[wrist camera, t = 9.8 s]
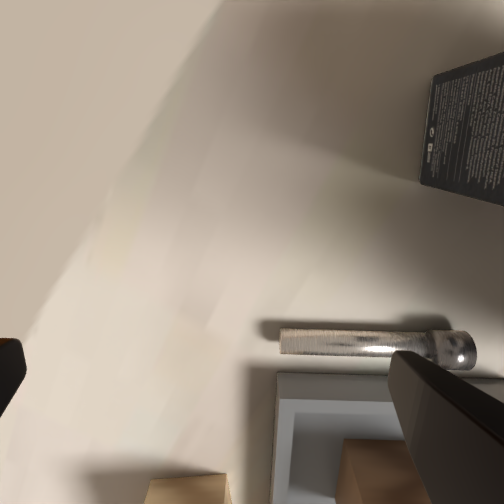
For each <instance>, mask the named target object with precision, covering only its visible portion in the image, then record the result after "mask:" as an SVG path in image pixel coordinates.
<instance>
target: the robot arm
mask: <svg viewBox="0 0 504 504" xmlns="http://www.w3.org/2000/svg"><path fill="white" fill-rule="evenodd" d="M26 371H27V366H26V362H25V357H24V352H23V348H22V344H21V342H20V340H18V339H15V338H0V417H1V416H2V414H3V412H4V411H5V409H6V408H7V406H8V404H9V403H10V401H11V399H12V398H13V396H14V394H15V393H16V391H17V389H18V388H19V386H20V384H21V383H22V381H23V380H24V378H25V375H26ZM388 389H389V392H390V395H391V398H392V401H393V404H394V408H395V411H396V414H397V417H398V420H399V423H400V426H401V429H402V432H403V436H404V439H405V442H406V445H407V447H408V450H409V453H410V455H411V458H412V460H413V463H414V465H415V467H416V469H417V472H418V474H419V476H420V479H421V481H422V483H423V485H424V488H425V490H426V492H427V495H428V497H429V499H430V501H431V504H504V403H503V402H501V401H499V400H498V399H496V398H494V397H492V396H491V395H489V394H487V393H485V392H484V391H482V390H480V389H478V388H477V387H475V386H473V385H471V384H470V383H468V382H466V381H464V380H463V379H461V378H459V377H457V376H456V375H454V374H452V373H450V372H449V371H447V370H445V369H443V368H442V367H440V366H438V365H436V364H435V363H433V362H431V361H429V360H428V359H426V358H424V357H422V356H421V355H419V354H417V353H415V352H413V351H410V350H396V351H394V352H393V354H392V358H391V363H390V369H389V374H388Z"/></svg>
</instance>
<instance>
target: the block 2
mask: <svg viewBox="0 0 504 504" xmlns="http://www.w3.org/2000/svg"><path fill="white" fill-rule="evenodd" d="M335 502H336V504H431V501H430V499H429V497H428V495H427V492H426V490H425V488H424V485H423V483H422V481H421V479H420V476H419V474H418V472H417V469H416V467H415V465H414V463H413V460H412V458H411V455H410V453H409V450H408V447H407V445H406V442H405V441H402V440H371V439H344V441H343V448H342V454H341V461H340V467H339V474H338V481H337V487H336V494H335Z"/></svg>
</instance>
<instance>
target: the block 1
mask: <svg viewBox="0 0 504 504" xmlns="http://www.w3.org/2000/svg"><path fill="white" fill-rule="evenodd" d="M144 504H232V501H231V495H230V490H229V484H228V479H227V474H218V475H205V476H192V477H178V478H165V479H152V480H151V482H150V485H149V488H148V492H147V495H146V498H145V501H144Z"/></svg>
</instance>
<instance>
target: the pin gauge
mask: <svg viewBox="0 0 504 504" xmlns="http://www.w3.org/2000/svg"><path fill="white" fill-rule="evenodd" d="M279 350H280V354H292V355H325V356H358V357H391V358H392V354H393V352H394V351H396V350H410V351H413V352H415V353H417V354H419V355H421V356H422V357H424V358H426V359H428V360H429V361H431V362H433V363H435V364H436V365H438V366H440V367H442V368H443V369H445V370H467V371H468V370H471V369H472V368H473V367H474V366H475V364H476V360H477V351H476V346H475V343H474V341H473V339H472V337H471V336H470V335H469V334H468V333H467V332H465V331H459V330H428V331H426V333H421V332H388V331H355V330H322V329H289V328H280V335H279Z"/></svg>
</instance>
